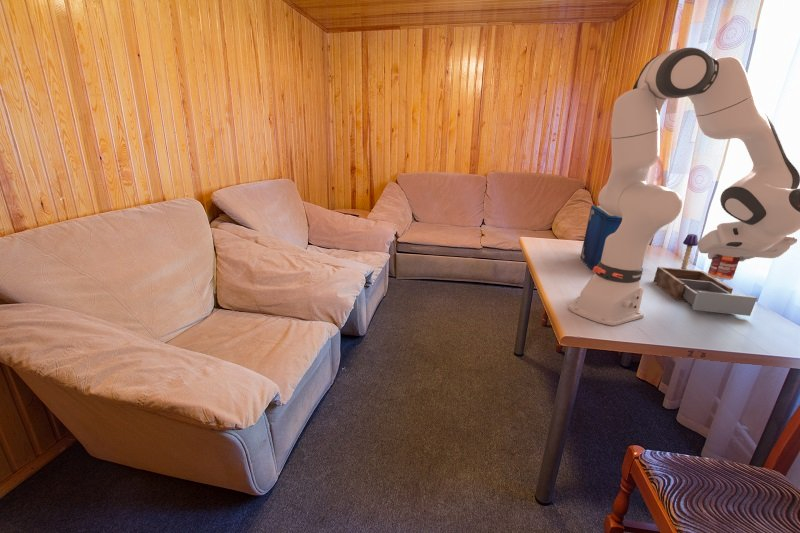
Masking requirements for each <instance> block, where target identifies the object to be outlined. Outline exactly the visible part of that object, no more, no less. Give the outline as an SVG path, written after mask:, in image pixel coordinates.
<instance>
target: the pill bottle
mask: <svg viewBox="0 0 800 533" xmlns="http://www.w3.org/2000/svg"><path fill="white" fill-rule="evenodd" d="M739 259H740V256H734V255H721V254H717V258H715V259H711V263H710V265H709V267H708V268H709V269H708V272H707V274H708V275H709V276H711V277H714V278H715V279H717V280H723V281H724V280H725V281H730V280H733V278H734V276H735V273H736V271H737V267H738V264H739V262H740V261H739Z"/></svg>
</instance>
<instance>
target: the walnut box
mask: <svg viewBox="0 0 800 533" xmlns="http://www.w3.org/2000/svg"><path fill="white" fill-rule="evenodd" d="M677 278H678V279H677ZM679 279H688V280H698V281H709V282H713V283H715V284H716V285H718V286H719V287H721V288H723V289H724V290H726V291H728V292H729V293H731V294H733V291H734V289H733V288H732V286H731V287H730V286H729V285H727V284H726V283H724V282H722V281H720V279H718V278H714V277H711V276H709V275H708V272H705V271H703V270H698V269H696V270H694V269H681V268H676V267H675V268H674V267H661V266H657V268H656V271H655V275H654V279H653V283H655V284H656V285H657V286H658V287H659V288H660V289H662V290H663V291H664V292H666V293H667V294H668V295H670V297H671V298H673V299H675V300H676V301H683V302H688V301H687V300H686V299H684V298H683V297H682V293H683V290H684V287H685V283H683V282H682V281H680V280H679Z"/></svg>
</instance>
